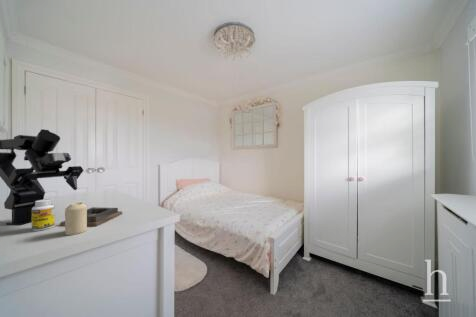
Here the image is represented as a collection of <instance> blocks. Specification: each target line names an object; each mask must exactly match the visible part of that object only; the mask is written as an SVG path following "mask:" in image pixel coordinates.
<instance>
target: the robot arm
mask: <svg viewBox="0 0 476 317" xmlns="http://www.w3.org/2000/svg"><path fill="white" fill-rule="evenodd" d="M60 140H61V137H60V136H59V135H58V134H57V133H54V132H52V131H50V130H49V129H42V128H41V129H40V131H39V132H38V133H37V135H35V136H34V135H27V134H26V135H24V134H17V135H15V136H14V137H13V138H9V139H8V138H7V139H0V150H10V152H6V151H5V152H3V151H2V152H0V178H1V179H2V181H3V182H4V183H5V185H6V186H7V187H8V189H10V191H9V195H8V196H7V198H6V199H5V201H4V202H3V204H4V209H5V210H11V221H10V222H6V223H5V224H6V225H17V226H18V225H19V226H20V225H26V224H30V223H32V208H33V207H34V206H35V201H38V200H44V199H45V198H44V197H45V195H46V191H45V188H44V187H43V186H42V185H41V183H40V181H39V180H38V179H47V178H48V179H49V178H51V179H52V178H58V177H59V178H61V177H63V179H64V180H65V182H66V183H67V185H69V187H71V189H73V191H77V190H78V181H77V180H78V179H79V177H81V175H82V174H83V172H84V169H83V167H82V166H80V165H78V166H68V167H67V169H66V170H61V169H62V168H63V164H64V163H68V162H70V161H71V160H72V156H71V154H69V152H53V151H54V150H55V148H56V146H57V145H58V144H59V143H60ZM15 150H17V151H25V152H24V155H25V156H24V157H23V161H28V162H29V163H30V165H31V166H30V167H29V168H16V166H14V165H13V163H14V161H15V159H16V157H17V154H16V152H15Z"/></svg>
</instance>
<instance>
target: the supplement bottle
mask: <svg viewBox="0 0 476 317" xmlns="http://www.w3.org/2000/svg"><path fill="white" fill-rule="evenodd" d="M52 203H53V202H52V199H49V198H48V199H47V198H46V199H45V198H44V199H43V200H38V201H35V206H34V207H33V208H32V222H31V230H32V231H34V232H40V231H45V230H49V229H52V228H53V227H54V226H55V218H56V217H55V213H56V212H55V204H54V203H53V204H52Z"/></svg>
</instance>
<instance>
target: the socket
mask: <svg viewBox="0 0 476 317" xmlns="http://www.w3.org/2000/svg"><path fill="white" fill-rule="evenodd" d="M122 215H123V211H119V208H118V207H89V208H87V227H98V226H101V225H102V224H105V223H107V222H109V221H110V220H113V219H116V218H117V217H119V216H122ZM60 226H61V227H62V226H64V227H65V220H64V221H61V222H60Z"/></svg>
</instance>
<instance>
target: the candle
mask: <svg viewBox="0 0 476 317" xmlns="http://www.w3.org/2000/svg"><path fill="white" fill-rule="evenodd" d="M64 209H65V210H64V211H65V212H64V215H65V216H64V221H65V226H64V230H65V231H64V234H65V235H66V236H74V235H78V234H82V233H85V232H86V231H87V228H88V226H87V209H88V206H87V205H86V204H84V202H76V203H75V202H73V203H71V204H70V205H68V206H67V207H66V208H64Z"/></svg>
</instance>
